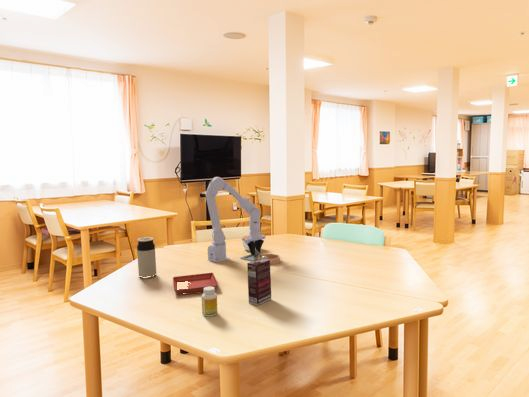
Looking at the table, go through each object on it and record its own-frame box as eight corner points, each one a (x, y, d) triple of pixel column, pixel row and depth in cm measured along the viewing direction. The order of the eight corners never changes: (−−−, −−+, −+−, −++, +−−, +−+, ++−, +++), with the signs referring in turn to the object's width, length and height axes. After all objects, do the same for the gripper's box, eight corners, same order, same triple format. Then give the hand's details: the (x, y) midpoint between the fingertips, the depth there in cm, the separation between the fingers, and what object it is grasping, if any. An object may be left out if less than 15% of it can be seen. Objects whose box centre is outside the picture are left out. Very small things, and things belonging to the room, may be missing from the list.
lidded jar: (239, 249, 237) (239, 233, 236) (256, 247, 241) (255, 231, 240) (246, 253, 227) (246, 237, 226) (263, 251, 231) (263, 235, 230)
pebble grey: (268, 264, 206) (264, 261, 203) (262, 263, 208) (258, 260, 206) (270, 257, 207) (266, 255, 204) (265, 256, 209) (261, 254, 207)
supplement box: (262, 296, 160) (261, 257, 158) (271, 299, 157) (270, 259, 155) (247, 303, 153) (246, 262, 151) (257, 306, 150) (256, 264, 148)
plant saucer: (174, 297, 162) (173, 289, 162) (172, 283, 179) (172, 276, 179) (219, 292, 167) (218, 284, 166) (213, 279, 184) (213, 272, 183)
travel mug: (151, 279, 185) (149, 240, 183) (135, 278, 187) (133, 240, 184) (159, 274, 193) (157, 237, 191) (144, 273, 194) (141, 236, 192)
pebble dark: (255, 257, 217) (255, 251, 216) (250, 256, 219) (250, 250, 218) (260, 256, 219) (260, 249, 219) (255, 255, 222) (255, 248, 221)
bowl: (270, 266, 201) (269, 260, 200) (253, 262, 208) (253, 257, 207) (283, 261, 209) (283, 256, 208) (267, 258, 216) (267, 252, 216)
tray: (253, 262, 209) (252, 260, 209) (240, 259, 215) (240, 257, 215) (268, 257, 218) (268, 255, 218) (255, 254, 224) (255, 252, 224)
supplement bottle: (199, 314, 144) (198, 288, 143) (211, 309, 148) (210, 284, 147) (208, 318, 140) (207, 291, 139) (220, 313, 144) (219, 287, 143)
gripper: (251, 232, 209) (251, 258, 211) (269, 228, 220) (269, 252, 222) (241, 230, 214) (242, 255, 215) (259, 226, 225) (260, 250, 226)
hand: (255, 254), depth 219 cm, fingers closed on pebble dark, 4 cm apart
